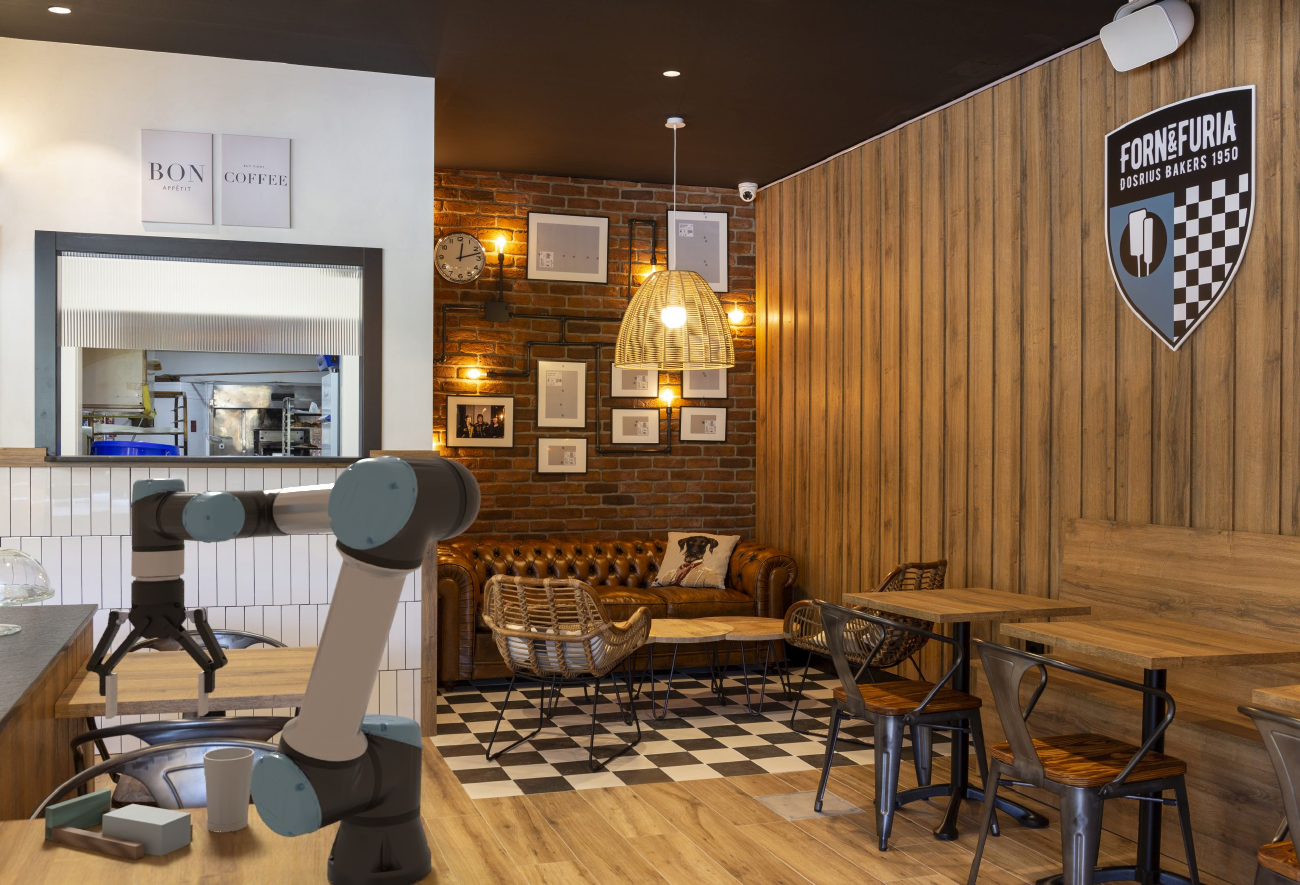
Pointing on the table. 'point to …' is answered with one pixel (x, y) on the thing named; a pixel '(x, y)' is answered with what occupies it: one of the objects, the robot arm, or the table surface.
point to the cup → (228, 787)
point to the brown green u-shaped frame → (88, 825)
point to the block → (149, 827)
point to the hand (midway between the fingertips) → (157, 715)
